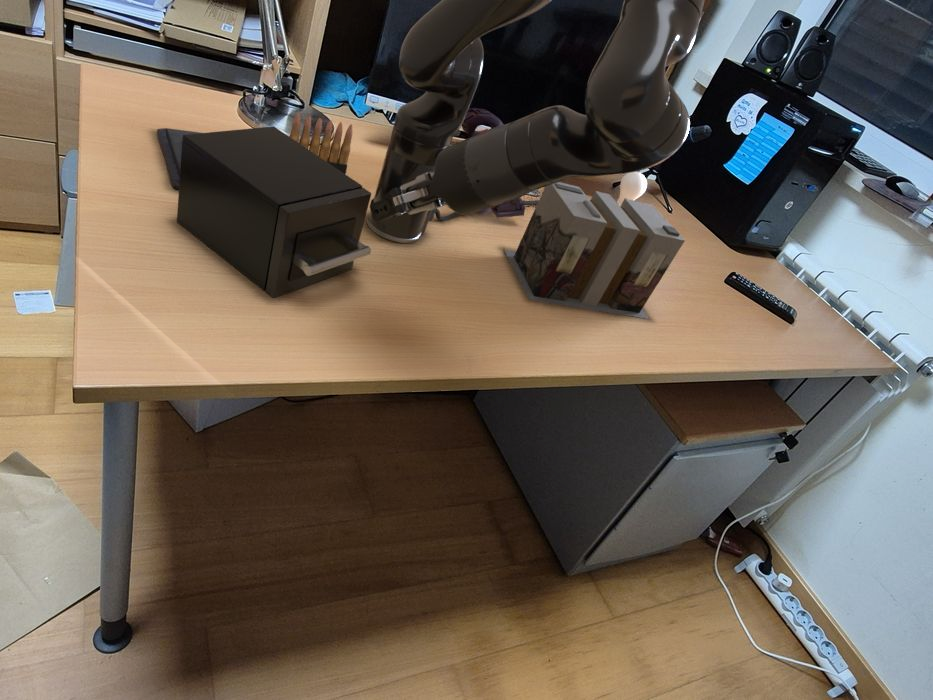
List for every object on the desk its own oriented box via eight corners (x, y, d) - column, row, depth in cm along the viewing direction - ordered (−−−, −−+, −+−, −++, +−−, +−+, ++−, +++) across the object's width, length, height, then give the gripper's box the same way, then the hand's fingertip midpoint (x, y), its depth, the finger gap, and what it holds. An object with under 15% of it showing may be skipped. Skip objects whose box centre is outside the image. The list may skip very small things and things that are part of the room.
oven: (342, 263, 93) (362, 185, 85) (263, 291, 81) (278, 204, 74) (261, 204, 98) (273, 126, 90) (176, 222, 87) (182, 134, 79)
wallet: (157, 120, 104) (250, 134, 112) (156, 131, 105) (249, 144, 113) (170, 178, 91) (274, 189, 99) (169, 190, 92) (273, 200, 100)
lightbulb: (633, 222, 150) (656, 181, 144) (614, 219, 147) (636, 177, 141) (620, 209, 154) (642, 169, 148) (601, 206, 151) (623, 164, 145)
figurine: (520, 228, 125) (554, 151, 115) (462, 223, 117) (493, 140, 108) (477, 179, 137) (505, 106, 127) (422, 172, 130) (447, 94, 120)
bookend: (649, 318, 113) (697, 244, 104) (529, 300, 103) (570, 215, 94) (614, 270, 124) (655, 198, 115) (503, 249, 115) (538, 169, 105)
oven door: (370, 282, 91) (391, 206, 84) (293, 313, 80) (310, 228, 72) (344, 264, 93) (363, 187, 85) (265, 291, 81) (279, 206, 74)
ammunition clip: (340, 186, 112) (355, 123, 105) (342, 191, 111) (357, 127, 104) (280, 176, 107) (291, 109, 100) (281, 182, 106) (293, 114, 99)
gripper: (466, 215, 61) (349, 254, 72) (528, 194, 71) (418, 231, 82) (442, 139, 59) (326, 190, 70) (509, 129, 69) (399, 175, 80)
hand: (376, 212), depth 76 cm, fingers closed
